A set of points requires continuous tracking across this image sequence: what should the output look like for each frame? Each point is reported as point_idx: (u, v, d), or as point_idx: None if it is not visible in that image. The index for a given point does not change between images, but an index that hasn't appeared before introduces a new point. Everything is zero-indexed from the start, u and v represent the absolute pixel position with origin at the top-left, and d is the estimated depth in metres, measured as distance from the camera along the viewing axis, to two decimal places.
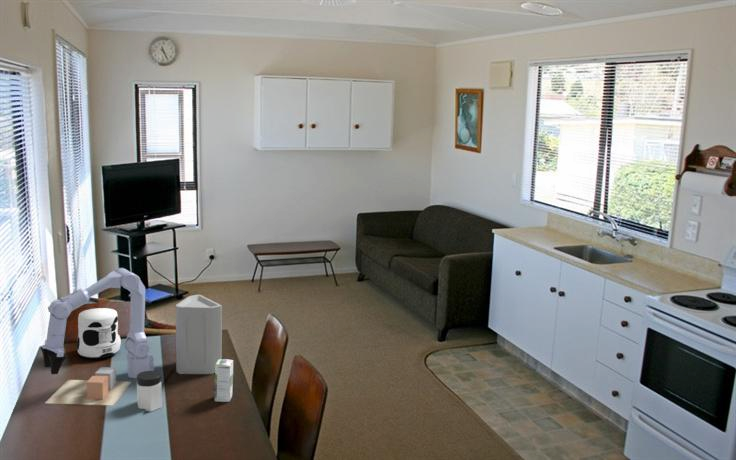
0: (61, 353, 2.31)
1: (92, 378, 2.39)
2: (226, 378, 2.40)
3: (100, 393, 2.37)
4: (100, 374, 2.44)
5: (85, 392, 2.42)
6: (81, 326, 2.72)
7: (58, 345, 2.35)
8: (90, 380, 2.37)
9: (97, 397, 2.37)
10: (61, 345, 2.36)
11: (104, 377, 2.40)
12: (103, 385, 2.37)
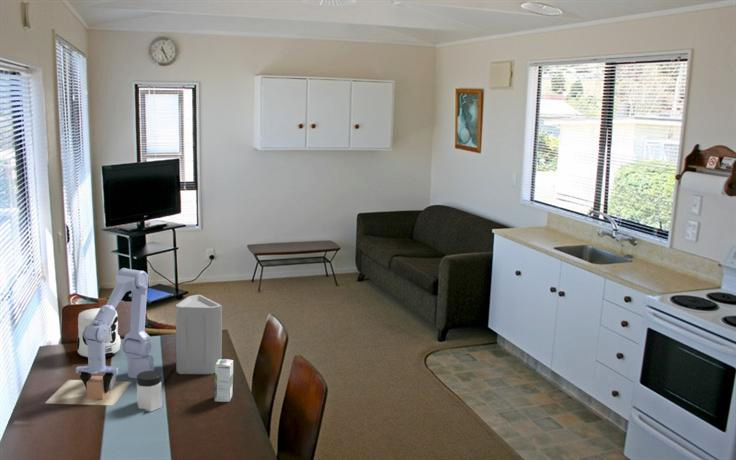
0: (117, 370, 2.38)
1: (92, 378, 2.39)
2: (226, 378, 2.40)
3: (100, 393, 2.37)
4: (100, 374, 2.44)
5: (85, 392, 2.42)
6: (81, 326, 2.72)
7: None
8: (90, 380, 2.37)
9: (97, 397, 2.37)
10: None
11: None
12: (103, 385, 2.37)
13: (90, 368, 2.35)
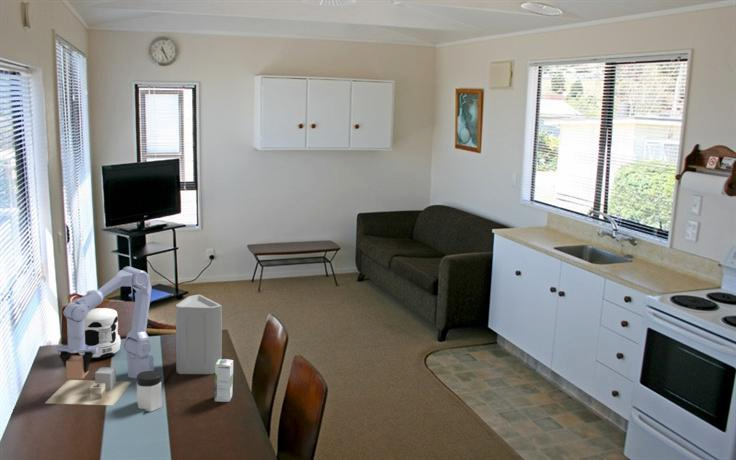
0: (97, 349, 2.38)
1: (72, 357, 2.39)
2: (226, 378, 2.40)
3: (80, 372, 2.37)
4: (100, 374, 2.44)
5: (85, 392, 2.42)
6: None
7: (84, 344, 2.38)
8: (70, 359, 2.37)
9: (77, 376, 2.37)
10: None
11: None
12: (83, 365, 2.37)
13: (70, 347, 2.35)
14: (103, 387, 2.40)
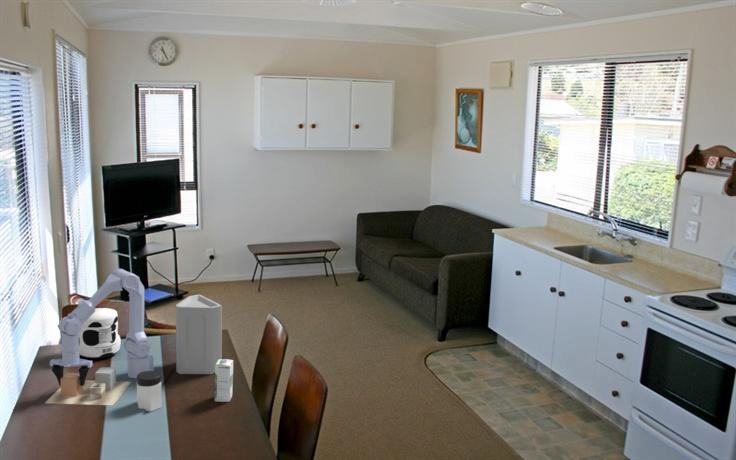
0: (91, 363, 2.40)
1: (66, 375, 2.41)
2: (226, 378, 2.40)
3: (74, 390, 2.38)
4: (100, 374, 2.44)
5: (85, 392, 2.42)
6: None
7: (79, 358, 2.39)
8: (64, 377, 2.39)
9: (71, 394, 2.39)
10: None
11: (78, 374, 2.42)
12: (77, 382, 2.39)
13: (64, 361, 2.37)
14: (103, 387, 2.40)
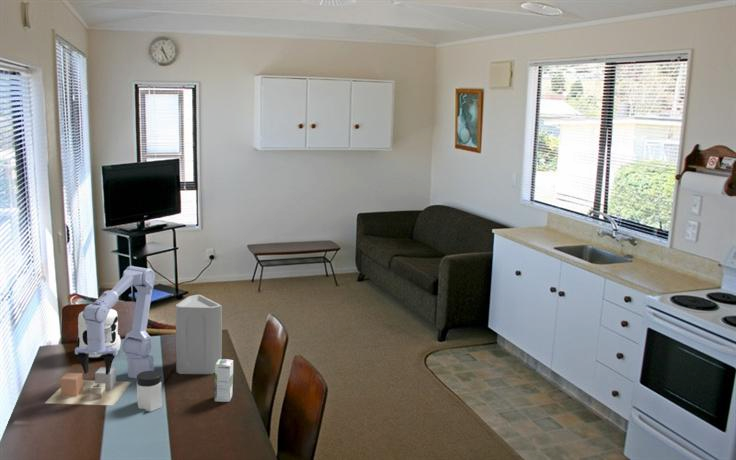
0: (117, 351, 2.37)
1: (66, 375, 2.41)
2: (226, 378, 2.40)
3: (74, 390, 2.38)
4: (100, 374, 2.44)
5: (85, 392, 2.42)
6: (81, 326, 2.72)
7: (104, 346, 2.37)
8: (64, 377, 2.39)
9: (71, 394, 2.39)
10: None
11: (78, 374, 2.42)
12: (77, 382, 2.39)
13: (89, 349, 2.34)
14: (103, 387, 2.40)
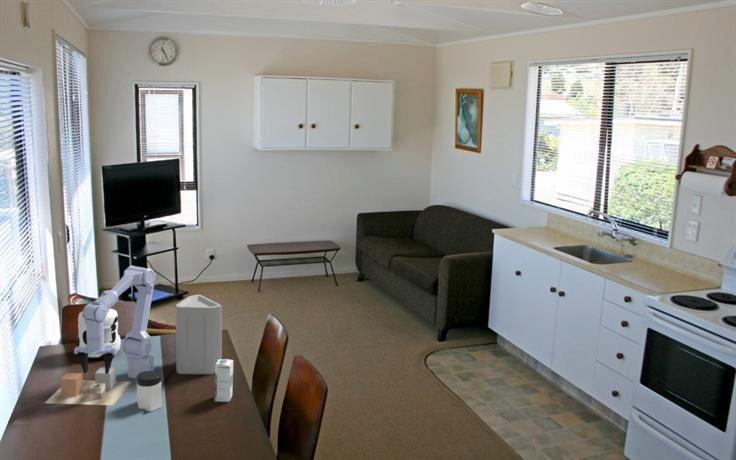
0: (116, 350, 2.38)
1: (66, 375, 2.41)
2: (226, 378, 2.40)
3: (74, 390, 2.38)
4: (100, 374, 2.44)
5: (85, 392, 2.42)
6: (81, 326, 2.72)
7: (103, 345, 2.37)
8: (64, 377, 2.39)
9: (71, 394, 2.39)
10: None
11: (78, 374, 2.42)
12: (77, 382, 2.39)
13: (89, 348, 2.34)
14: (103, 387, 2.40)
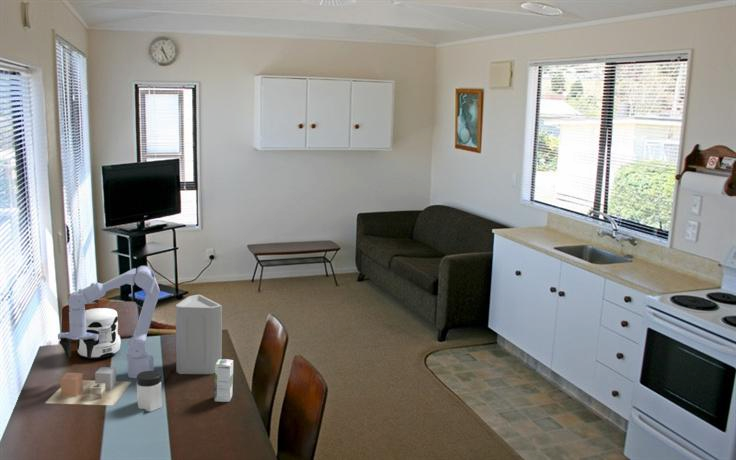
0: (97, 336, 2.50)
1: (66, 375, 2.41)
2: (226, 378, 2.40)
3: (74, 390, 2.38)
4: (100, 374, 2.44)
5: (85, 392, 2.42)
6: None
7: None
8: (64, 377, 2.39)
9: (71, 394, 2.39)
10: None
11: (78, 374, 2.42)
12: (77, 382, 2.39)
13: (71, 334, 2.47)
14: (103, 387, 2.40)
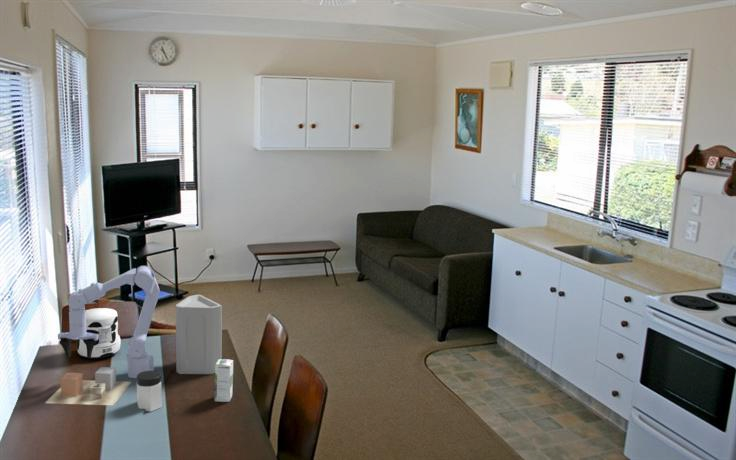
0: (97, 336, 2.50)
1: (66, 375, 2.41)
2: (226, 378, 2.40)
3: (74, 390, 2.38)
4: (100, 374, 2.44)
5: (85, 392, 2.42)
6: None
7: None
8: (64, 377, 2.39)
9: (71, 394, 2.39)
10: None
11: (78, 374, 2.42)
12: (77, 382, 2.39)
13: (71, 334, 2.47)
14: (103, 387, 2.40)
